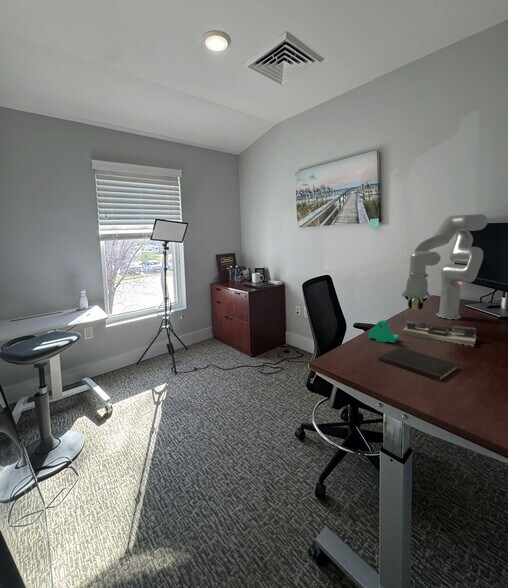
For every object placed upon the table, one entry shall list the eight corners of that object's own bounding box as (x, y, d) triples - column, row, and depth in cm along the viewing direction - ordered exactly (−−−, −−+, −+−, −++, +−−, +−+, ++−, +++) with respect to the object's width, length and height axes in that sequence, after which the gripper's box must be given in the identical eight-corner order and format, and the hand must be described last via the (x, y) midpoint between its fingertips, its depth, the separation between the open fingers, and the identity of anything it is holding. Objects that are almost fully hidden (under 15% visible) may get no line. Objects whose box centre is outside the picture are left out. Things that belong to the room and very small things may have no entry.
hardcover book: (398, 351, 133) (399, 346, 132) (457, 369, 115) (458, 364, 114) (378, 361, 123) (378, 356, 123) (439, 382, 105) (439, 376, 105)
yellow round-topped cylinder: (411, 308, 169) (412, 296, 168) (420, 309, 167) (421, 297, 165) (409, 310, 166) (410, 298, 164) (418, 311, 163) (419, 298, 161)
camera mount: (398, 340, 145) (400, 319, 143) (393, 344, 140) (394, 323, 138) (373, 335, 153) (375, 315, 151) (367, 339, 148) (369, 319, 146)
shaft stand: (407, 328, 162) (408, 317, 161) (475, 339, 143) (477, 327, 142) (401, 333, 153) (402, 322, 152) (473, 346, 135) (475, 333, 133)
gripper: (436, 275, 160) (434, 308, 164) (402, 274, 170) (400, 305, 174) (433, 278, 154) (431, 312, 158) (398, 276, 165) (397, 308, 169)
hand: (415, 308), depth 166 cm, fingers closed on yellow round-topped cylinder, 4 cm apart
